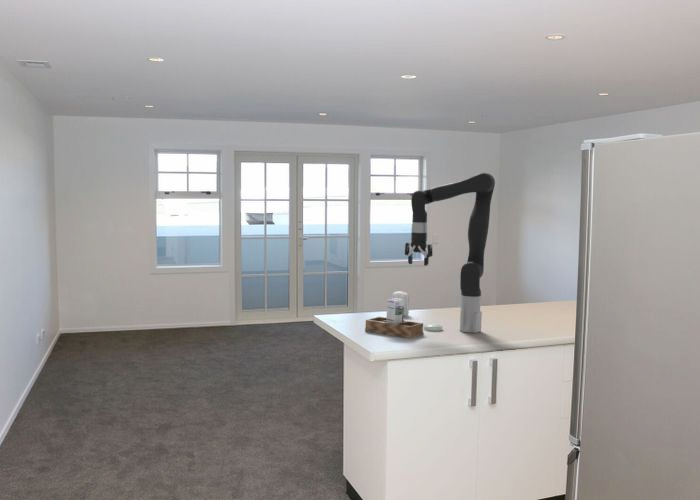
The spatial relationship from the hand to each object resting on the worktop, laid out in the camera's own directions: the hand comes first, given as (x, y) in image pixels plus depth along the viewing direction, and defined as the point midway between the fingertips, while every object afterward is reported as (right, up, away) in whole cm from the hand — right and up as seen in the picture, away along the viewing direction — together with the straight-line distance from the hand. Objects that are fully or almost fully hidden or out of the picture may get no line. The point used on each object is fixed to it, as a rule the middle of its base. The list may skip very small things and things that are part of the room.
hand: (418, 264), depth 330 cm
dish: (+7, -31, -6) cm, 32 cm away
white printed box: (-6, -28, +32) cm, 43 cm away
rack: (-13, -31, -16) cm, 37 cm away
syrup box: (-13, -30, -16) cm, 36 cm away
